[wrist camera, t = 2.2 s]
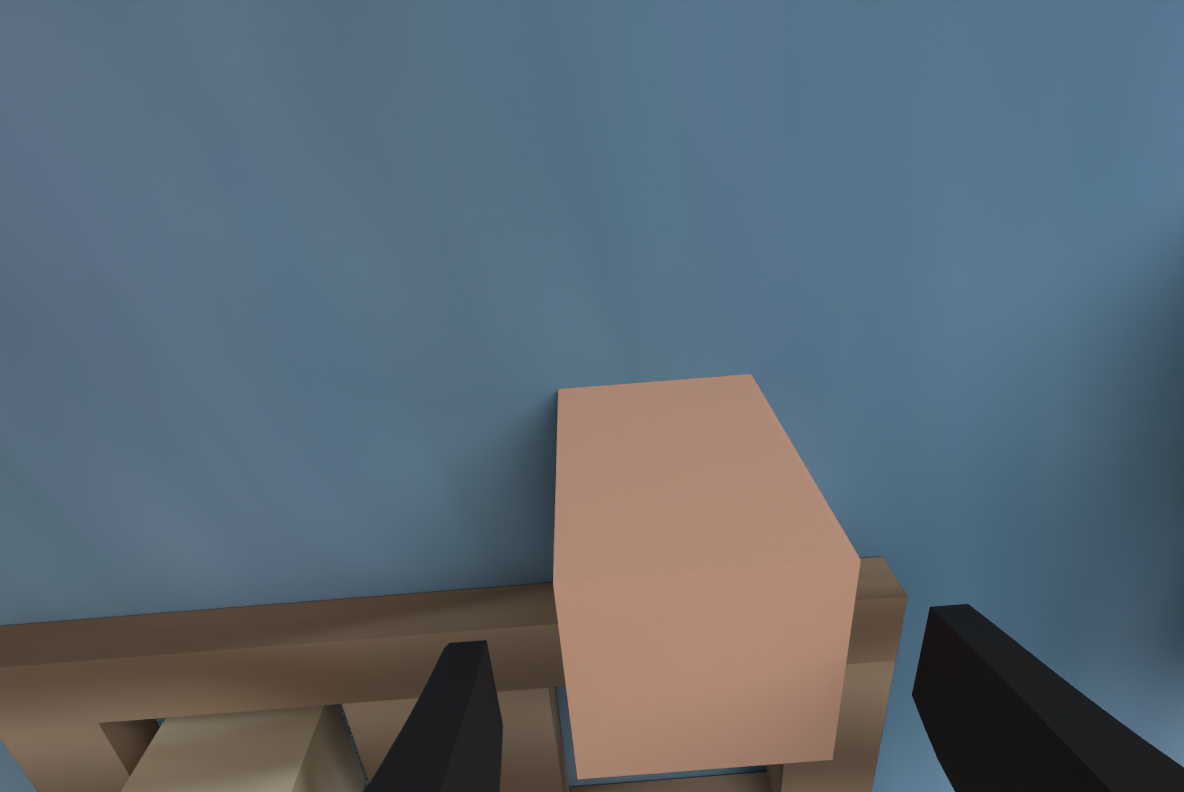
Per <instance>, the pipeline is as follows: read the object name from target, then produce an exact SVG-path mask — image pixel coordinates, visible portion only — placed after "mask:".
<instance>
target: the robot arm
mask: <svg viewBox="0 0 1184 792" xmlns="http://www.w3.org/2000/svg"><path fill="white" fill-rule="evenodd" d="M912 696H913V699H914V702H915V704H916V707H917V709H918V712H919V714H920V717H921V719H922V722H923V725H924V727H925V730H926V732H927V734H928V737H929V739H930V741H931V744H932V746H933V749H934V751H935V753H936V756H937V758H938V760H939V762H940V764H941V766H942V768H943V770H944V772H945V774H946V776H947V777H948V779H949V781H950V783H951V785H952V787H953V789H954V790H955V792H1184V767H1182V766H1181V765H1179V764H1178V763H1177V762H1175V761H1174V760H1172V759H1171V758H1169V757H1168V756H1167V755H1165V754H1164V753H1162V752H1161V751H1159V750H1158V749H1157V748H1155V747H1154V746H1152V745H1151V744H1149V743H1148V742H1147V741H1145V740H1144V739H1143V738H1141V737H1140V736H1138V735H1137V734H1136V733H1134V732H1133V731H1132V730H1130V729H1129V728H1127V727H1126V726H1125V725H1123V724H1122V723H1121V722H1119V721H1118V720H1117V719H1115V718H1114V717H1113V716H1111V715H1110V714H1109V713H1107V712H1106V711H1105V710H1103V709H1102V708H1101V707H1099V706H1098V705H1097V704H1095V703H1094V702H1093V701H1091V700H1090V699H1089V698H1087V697H1086V696H1085V695H1083V694H1082V693H1081V692H1079V691H1078V690H1077V689H1076V688H1074V687H1073V686H1072V685H1070V684H1069V683H1068V682H1067V681H1065V680H1064V679H1063V678H1061V677H1060V676H1059V675H1058V674H1056V673H1055V672H1054V671H1052V670H1051V669H1050V668H1049V667H1047V666H1046V665H1045V664H1044V663H1042V662H1041V661H1040V660H1039V659H1037V658H1036V657H1035V656H1033V655H1032V654H1031V653H1030V652H1028V651H1027V650H1026V649H1025V648H1023V647H1022V646H1021V645H1020V644H1018V643H1017V642H1016V641H1015V640H1013V639H1012V638H1011V637H1009V636H1008V635H1007V634H1006V633H1004V632H1003V631H1002V630H1001V629H999V628H998V627H997V626H996V625H994V624H993V623H992V622H991V621H989V620H988V619H987V618H985V617H984V616H983V615H982V614H980V613H979V612H978V611H976V610H975V609H974V608H972V607H971V606H970V605H968V604H962V605H948V606H935V607H930V610H929V615H928V619H927V624H926V629H925V634H924V639H923V644H922V649H921V653H920V658H919V663H918V668H917V673H916V678H915V683H914V687H913V692H912ZM502 739H503V722H502V717H501V712H500V707H499V701H498V696H497V691H496V686H495V681H494V676H493V670H492V665H491V660H490V655H489V650H488V644H487V640H480V641H467V642H454V643H449V644H448V645H447V646H446V647H445V648H444V649H443V651H442V653H441V655H440V657H439V659H438V662H437V664H436V666H435V668H434V670H433V672H432V674H431V676H430V678H429V680H428V682H427V684H426V685H425V687H424V689H423V691H422V693H421V695H420V697H419V699H418V701H417V702H416V704H415V706H414V708H413V710H412V712H411V713H410V715H409V717H408V719H407V721H406V722H405V724H404V726H403V728H402V729H401V731H400V733H399V734H398V736H397V738H396V740H395V741H394V743H393V745H392V746H391V748H390V750H389V751H388V753H387V755H386V757H385V758H384V760H383V762H382V763H381V765H380V767H379V768H378V770H377V772H376V773H375V775H374V777H373V778H372V780H371V781H370V783H369V784H368V786H367V787H366V789H365V791H364V792H500V778H501V761H502Z"/></svg>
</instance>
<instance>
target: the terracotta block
mask: <svg viewBox="0 0 1184 792" xmlns="http://www.w3.org/2000/svg"><path fill="white" fill-rule="evenodd" d="M860 562H861V560H860V558H859V556H858V555H857V553H856V551H855V550H854V548H853V546H852V544H851V543H850V541H849V539H848V538H847V536H846V534H845V533H844V531H843V529H842V528H841V526H840V524H839V522H838V521H837V519H836V517H835V516H834V514H833V512H832V511H831V509H830V507H829V505H828V504H827V502H826V500H825V499H824V497H823V495H822V494H821V492H820V490H819V489H818V487H817V485H816V483H815V482H814V480H813V478H812V477H811V475H810V473H809V472H808V470H807V468H806V466H805V465H804V463H803V461H802V460H801V458H800V456H799V455H798V453H797V451H796V450H795V448H794V446H793V444H792V443H791V441H790V439H789V438H788V436H787V434H786V433H785V431H784V429H783V427H782V426H781V424H780V422H779V421H778V419H777V417H776V416H775V414H774V412H773V411H772V409H771V407H770V405H769V404H768V402H767V400H766V399H765V397H764V395H763V394H762V392H761V390H760V388H759V387H758V385H757V383H756V382H755V380H754V378H753V377H752V375H751V374H748V375H735V376H722V377H709V378H697V379H684V380H671V381H658V382H645V383H633V384H620V385H607V386H594V387H582V388H569V389H558V418H557V456H556V493H555V530H554V568H553V587H554V595H555V603H556V611H557V619H558V627H559V635H560V643H561V651H562V659H563V667H564V675H565V683H566V691H567V699H568V707H569V715H570V723H571V730H572V738H573V746H574V754H575V762H576V770H577V778H578V779H590V778H603V777H616V776H629V775H642V774H655V773H668V772H681V771H693V770H706V769H719V768H732V767H745V766H758V765H771V764H784V763H797V762H810V761H823V760H833V753H834V746H835V739H836V732H837V725H838V718H839V711H840V703H841V696H842V689H843V682H844V675H845V668H846V661H847V654H848V647H849V640H850V633H851V626H852V619H853V611H854V604H855V597H856V590H857V583H858V576H859V569H860Z"/></svg>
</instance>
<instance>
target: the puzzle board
mask: <svg viewBox="0 0 1184 792" xmlns="http://www.w3.org/2000/svg"><path fill="white" fill-rule="evenodd" d="M860 560H861V562H860V569H859V576H858V583H857V590H856V597H855V604H854V611H853V619H852V626H851V633H850V640H849V647H848V654H847V661H846V668H845V675H844V682H843V689H842V696H841V703H840V711H839V718H838V725H837V732H836V739H835V746H834V753H833V760H823V761H810V762H797V763H784V764H771V765H766V772H758V773H746V774H733V775H720V776H707V777H694V778H681V779H669V780H656V781H643V782H630V783H617V784H605V785H592V786H579V787H569V783H568V776H567V768H566V761H565V754H564V746H563V739H562V732H561V725H560V717H559V710H558V703H557V695H556V688H555V687H566V683H565V675H564V667H563V659H562V651H561V643H560V635H559V627H558V619H557V611H556V603H555V595H554V587H553V583H542V584H529V585H516V586H504V587H491V588H478V589H465V590H453V591H440V592H427V593H414V594H402V595H389V596H376V597H363V598H351V599H338V600H325V601H312V602H300V603H287V604H274V605H261V606H249V607H236V608H223V609H210V610H198V611H185V612H172V613H159V614H147V615H134V616H121V617H108V618H95V619H83V620H70V621H57V622H44V623H32V624H19V625H6V626H0V739H1V740H2V742H3V743H4V745H5V746H6V747H7V749H8V750H9V752H10V753H11V754H12V756H13V757H14V759H15V760H16V762H17V763H18V764H19V766H20V767H21V769H22V770H23V772H24V773H25V774H26V776H27V777H28V779H29V780H30V781H31V783H32V784H33V786H34V787H35V789H36V790H37V791H38V792H121V790H122V789H123V787H124V785H125V784H126V782H127V781H128V779H129V777H130V776H131V774H132V772H133V771H134V769H135V767H136V766H137V764H138V763H139V761H140V759H141V758H142V756H143V754H144V753H145V751H146V750H147V748H148V746H149V745H150V743H151V741H152V740H153V738H154V736H155V735H156V733H157V732H158V730H159V728H158V726H157V724H156V722H155V720H154V719H156V718H169V717H182V716H195V715H207V714H220V713H233V712H246V711H259V710H271V709H284V708H297V707H310V706H323V705H335V704H342V706H343V709H344V712H345V715H346V718H347V720H348V723H349V726H350V729H351V732H352V735H353V738H354V741H355V743H356V746H357V749H358V752H359V755H360V758H361V761H362V764H363V767H364V769H365V772H366V775H367V778H368V781H369V783H370V781H371V780H372V778H373V777H374V775H375V773H376V772H377V770H378V768H379V767H380V765H381V763H382V762H383V760H384V758H385V757H386V755H387V753H388V751H389V750H390V748H391V746H392V745H393V743H394V741H395V740H396V738H397V736H398V734H399V733H400V731H401V729H402V728H403V726H404V724H405V722H406V721H407V719H408V717H409V715H410V713H411V712H412V710H413V708H414V706H415V704H416V702H417V701H418V699H419V697H420V695H421V693H422V691H423V689H424V687H425V685H426V684H427V682H428V680H429V678H430V676H431V674H432V672H433V670H434V668H435V666H436V664H437V662H438V659H439V657H440V655H441V653H442V651H443V649H444V648H445V647H446V646H447V645H448V644H449V643H454V642H467V641H480V640H487V644H488V650H489V655H490V660H491V665H492V670H493V676H494V681H495V686H496V691H497V696H498V701H499V707H500V712H501V717H502V722H503V739H502V761H501V778H500V792H871V791H872V786H873V780H874V775H875V769H876V764H877V759H878V753H879V748H880V742H881V737H882V732H883V726H884V721H885V716H886V710H887V705H888V699H889V694H890V689H891V683H892V678H893V672H894V667H895V662H896V656H897V651H898V645H899V640H900V635H901V629H902V624H903V618H904V613H905V608H906V602H907V597H908V596H907V595H906V593H905V592H904V590H903V589H902V587H901V585H900V584H899V582H898V581H897V579H896V578H895V576H894V574H893V573H892V571H891V570H890V568H889V567H888V565H887V564H886V562H885V560H884V559H883V557H874V558H861V559H860Z"/></svg>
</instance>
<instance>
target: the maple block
mask: <svg viewBox="0 0 1184 792" xmlns="http://www.w3.org/2000/svg"><path fill="white" fill-rule="evenodd" d="M365 784H366V781H365V778H364V775H363V772H362V769H361V766H360V763H359V761H358V758H357V755H356V752H355V749H354V746H353V744H352V741H351V738H350V735H349V732H348V729H347V726H346V724H345V721H344V718H343V715H342V712H341V709H340V707H339V704H335V705H323V706H310V707H297V708H284V709H271V710H259V711H246V712H233V713H220V714H207V715H195V716H182V717H169V718H166V719H165V720H164V722H163V723H162V725H161V727H160V728H159V730H158V732H157V733H156V735H155V736H154V738H153V740H152V741H151V743H150V745H149V746H148V748H147V750H146V751H145V753H144V754H143V756H142V758H141V759H140V761H139V763H138V764H137V766H136V767H135V769H134V771H133V772H132V774H131V776H130V777H129V779H128V781H127V782H126V784H125V785H124V787H123V789H122V790H121V792H363V791H364V787H365Z"/></svg>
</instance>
